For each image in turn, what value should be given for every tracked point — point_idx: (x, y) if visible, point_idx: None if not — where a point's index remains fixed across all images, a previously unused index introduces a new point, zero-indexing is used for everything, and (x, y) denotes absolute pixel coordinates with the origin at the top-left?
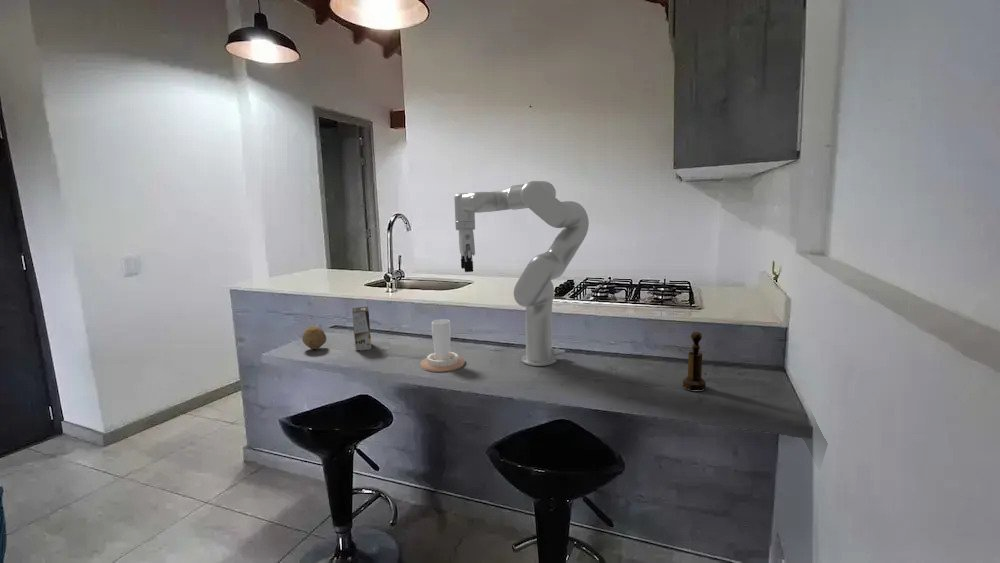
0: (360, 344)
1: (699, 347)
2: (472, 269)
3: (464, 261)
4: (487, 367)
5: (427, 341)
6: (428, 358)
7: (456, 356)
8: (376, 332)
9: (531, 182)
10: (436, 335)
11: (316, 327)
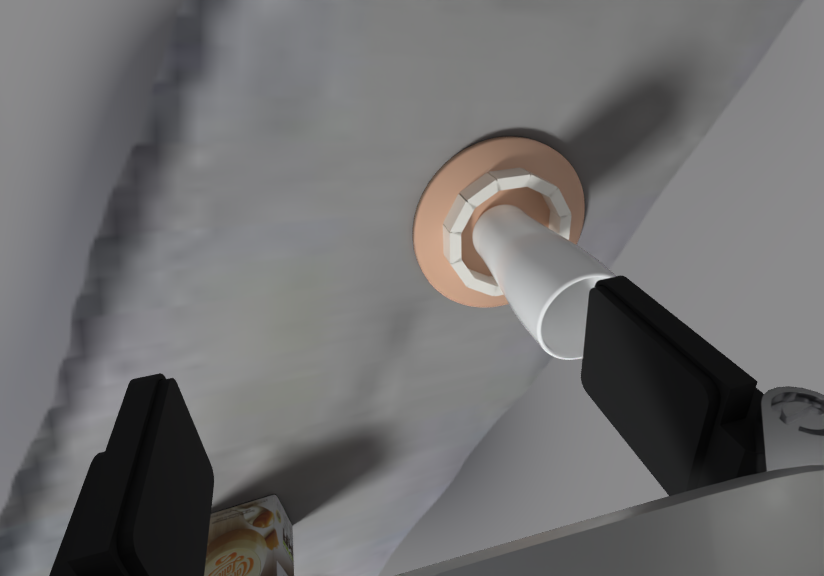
0: (288, 535)
1: None
2: (636, 297)
3: (179, 551)
4: (590, 30)
5: (162, 328)
6: None
7: (530, 180)
8: (14, 551)
9: None
10: (586, 303)
11: None
